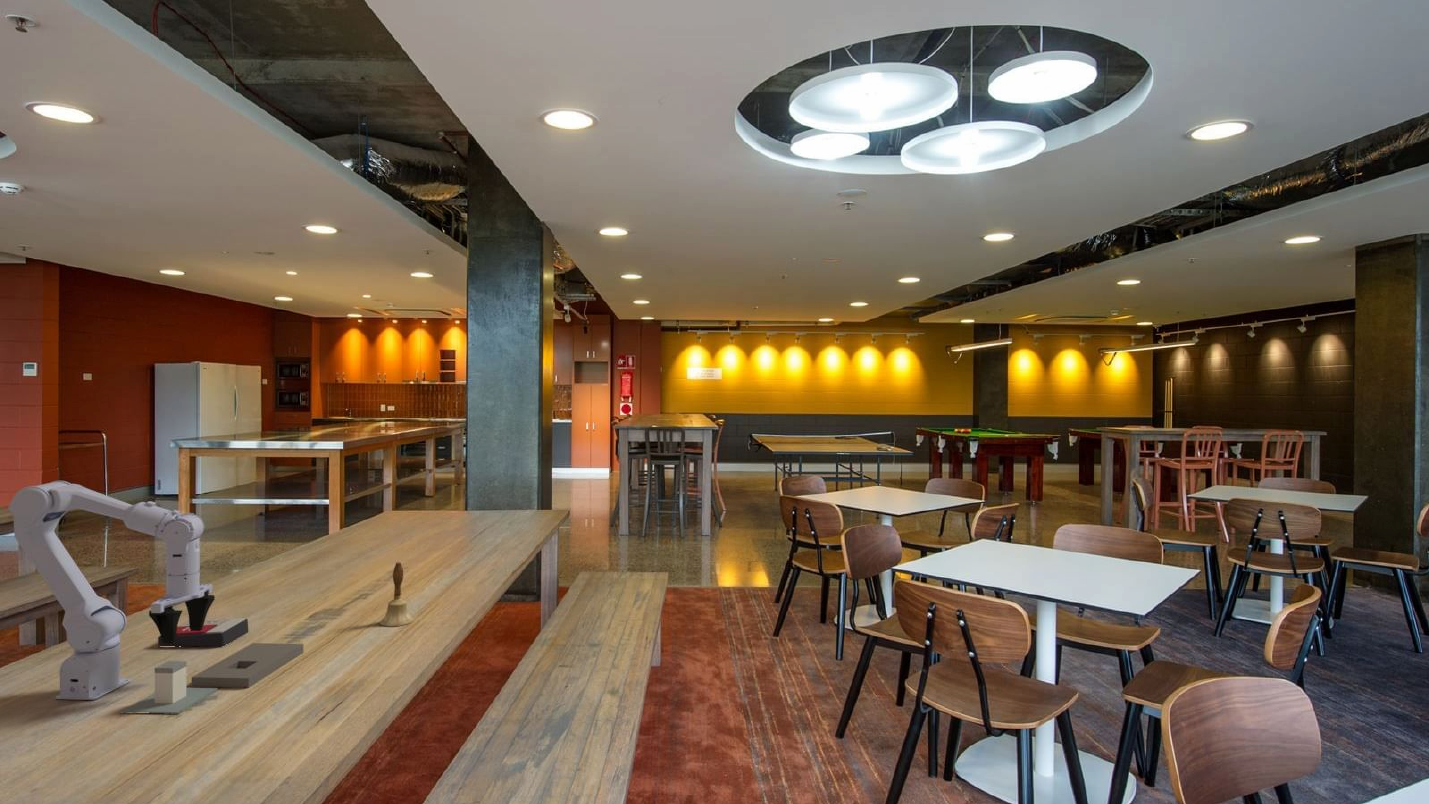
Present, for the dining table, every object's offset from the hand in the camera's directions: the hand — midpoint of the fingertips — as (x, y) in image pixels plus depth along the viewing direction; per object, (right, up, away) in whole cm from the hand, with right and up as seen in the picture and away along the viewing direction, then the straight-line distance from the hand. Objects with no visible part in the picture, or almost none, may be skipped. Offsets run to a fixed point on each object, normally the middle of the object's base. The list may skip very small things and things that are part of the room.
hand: (182, 636), depth 154 cm
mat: (+4, -10, -9) cm, 14 cm away
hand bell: (+27, -10, +41) cm, 50 cm away
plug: (+4, -10, -9) cm, 14 cm away
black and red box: (-13, -10, +26) cm, 31 cm away
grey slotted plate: (+9, -10, +8) cm, 16 cm away
